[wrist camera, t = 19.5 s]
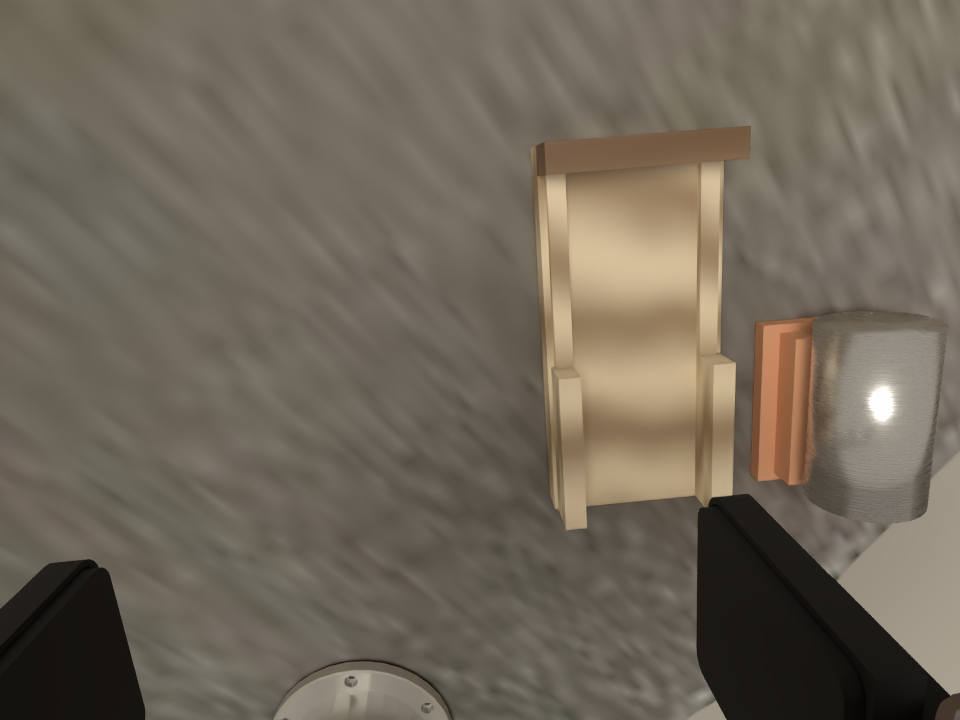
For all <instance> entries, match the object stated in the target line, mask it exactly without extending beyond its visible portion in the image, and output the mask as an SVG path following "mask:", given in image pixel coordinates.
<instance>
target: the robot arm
mask: <svg viewBox="0 0 960 720" xmlns="http://www.w3.org/2000/svg"><path fill="white" fill-rule="evenodd" d="M697 657H698V662H699V666H700V669H701V672H702V674H703V676H704V678H705V680H706V682H707V684H708V686H709V687H710V689H711V691H712V693H713V695H714V697H715V699H716V701H717V702H718V704H719V706H720V708H721V710H722V712H723V714H724V716H725V718H726V719H727V720H960V693H958V694H953V695H951V696H950V695H949V694H948V693H947V692H946V691H945V690H944V689H943V688H942V687H941V686H940V685H939V684H938V683H937V682H936V681H935V680H934V679H933V678H932V677H931V676H930V675H929V674H928V673H927V672H926V671H925V670H924V669H923V668H922V667H921V666H920V665H919V664H918V663H917V662H916V661H915V660H914V659H913V658H912V657H911V656H910V655H909V654H908V653H907V652H906V651H905V650H904V649H903V648H902V647H901V646H900V645H899V643H898V642H896V641H895V640H894V639H893V638H892V636H891V635H890V634H888V632H887V631H885V629H884V628H883V627H881V625H879V623H878V622H877V621H876V620H875V619H874V618H873V617H872V616H871V615H870V614H868V612H867V611H866V610H865V609H864V608H863V607H862V606H861V605H860V604H859V603H858V602H857V601H855V599H854V598H853V597H852V596H851V595H850V594H849V593H848V592H847V591H846V590H845V589H844V588H843V587H842V586H841V585H840V584H839V583H838V582H837V581H836V580H835V579H834V578H832V577H831V576H830V575H829V574H828V573H827V572H826V571H825V570H824V569H823V568H822V567H821V566H820V565H819V564H818V563H817V562H816V561H815V560H814V559H813V558H812V557H811V556H810V555H809V554H808V553H807V552H806V551H805V550H804V549H803V548H802V547H801V546H800V545H799V544H798V543H797V542H796V541H795V540H794V539H793V538H792V537H791V536H790V535H789V534H788V533H787V532H786V531H785V530H784V529H783V528H782V527H781V526H780V525H779V524H778V523H777V522H776V521H775V520H774V519H773V518H772V517H771V516H770V515H769V514H768V513H767V512H766V511H765V510H764V508H763V507H762V506H761V505H760V504H759V503H758V502H757V501H756V500H755V499H754V498H753V497H751V496H750V495H749V494H741V495H731V496H721V497H712V498H711V499H710V501H709V504H708V507H703V508H700V509H699V513H698V558H697ZM0 720H145V707H144V703H143V699H142V695H141V691H140V688H139V684H138V680H137V676H136V672H135V669H134V665H133V661H132V657H131V653H130V650H129V646H128V642H127V638H126V635H125V631H124V627H123V623H122V619H121V616H120V612H119V608H118V604H117V600H116V597H115V593H114V589H113V585H112V581H111V578H110V575H109V572H108V571H107V570H106V569H105V568H99V567H98V565H97V564H96V563H95V561H93V560H90V559H88V560H78V561H67V562H57V563H50V564H48V565H47V566H45V567H44V568H43V569H42V570H41V571H40V572H39V573H38V574H37V575H36V576H35V577H34V578H32V579H31V580H30V581H29V582H28V583H27V584H26V585H25V586H24V587H23V588H22V589H21V590H20V591H19V592H18V593H17V594H16V595H15V596H14V597H13V598H12V599H11V600H9V601H8V602H7V603H6V604H5V605H4V606H3V607H2V608H1V609H0ZM273 720H452V719H451V716H450V713H449V710H448V708H447V706H446V704H445V703H444V701H443V700H442V698H441V696H440V695H439V694H438V693H437V692H436V691H435V690H434V689H433V688H432V687H431V686H430V685H429V684H428V683H427V682H425V681H424V680H422V679H421V678H420V677H418V676H417V675H415V674H413V673H411V672H409V671H406V670H404V669H402V668H400V667H396V666H392V665H389V664H385V663H378V662H367V661H361V662H346V663H342V664H338V665H333V666H329V667H327V668H324V669H322V670H319V671H317V672H315V673H313V674H311V675H309V676H308V677H306V678H305V679H303V680H302V681H300V682H299V683H298V684H296V685H295V686H294V687H293V688H292V689H291V690H290V691H289V692H288V693H287V694H286V696H285V697H284V699H283V700H282V701H281V703H280V704H279V706H278V708H277V711H276V713H275V716H274V718H273Z"/></svg>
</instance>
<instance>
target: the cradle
mask: <svg viewBox="0 0 960 720" xmlns="http://www.w3.org/2000/svg"><path fill="white" fill-rule="evenodd" d="M815 318H817V317H810V318H799V319H788V320H777V321H766V322H756V331H755V360H754V390H753V419H752V449H751V475H752V476H753V477H754V478H755V479H756V480H757V481H766V480H776V479H782V480H783V481H784V482H785V483H787V484H788V485H797V484H804V473H805V455H806V438H807V420H808V403H809V386H810V368H811V351H812V333H813V320H814V319H815Z"/></svg>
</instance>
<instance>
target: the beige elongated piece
mask: <svg viewBox="0 0 960 720" xmlns="http://www.w3.org/2000/svg"><path fill="white" fill-rule="evenodd" d="M750 130H751V126H741V127H729V128H717V129H704V130H692V131H679V132H667V133H655V134H642V135H630V136H618V137H605V138H593V139H580V140H568V141H556V142H544V143H542V144H540V145H537V146H535V147H533V148H531V164H532V182H533V200H534V218H535V235H536V253H537V271H538V289H539V307H540V325H541V342H542V360H543V378H544V396H545V414H546V432H547V450H548V467H549V485H550V496H551V499H552V501H553V504H554V507H555V509H559V512H560V515H561V517H562V520H563V523H564V526H565V529H566V530H573V529H583V528H587V516H586V506H594V505H604V504H614V503H624V502H634V501H644V500H655V499H665V498H675V497H685V496H696V497H697V499H698V500H699V501H700V502H701V504H702V505H703V506H704V507H708V504H709V501H710V499H711V498H712V497H721V496H731V495H732V489H733V451H734V412H735V374H736V363H735V362H733V361H732V360H730V359H728V358H727V357H725V356H723V355H722V354H720V335H721V284H722V232H723V180H724V161H726V160H737V159H748V158H750Z"/></svg>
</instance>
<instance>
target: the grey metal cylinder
mask: <svg viewBox="0 0 960 720" xmlns="http://www.w3.org/2000/svg"><path fill="white" fill-rule="evenodd" d="M947 331H948V325H947V323H945V322H944V321H942V320H939V319H936V318H933V317H928V316H924V315H918V314H911V313H902V312H888V311H851V312H839V313H832V314H826V315H822V316H819V317H817V318H815V319H814V320H813V333H812V351H811V368H810V386H809V403H808V420H807V438H806V455H805V473H804V493H805V495H806V496H807V498H808V499H809V500H810V501H812V502H813V503H814V504H816V505H817V506H819V507H821V508H822V509H824V510H827V511H829V512H831V513H834V514H837V515H840V516H843V517H846V518H850V519H855V520H860V521H866V522H875V523H899V522H906V521H911V520H914V519H917V518H919V517H921V516H922V515H923V514H924V513H925V512H926V510H927V506H928V498H929V489H930V480H931V471H932V463H933V454H934V445H935V436H936V427H937V419H938V410H939V401H940V392H941V384H942V375H943V366H944V357H945V348H946V340H947Z"/></svg>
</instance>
